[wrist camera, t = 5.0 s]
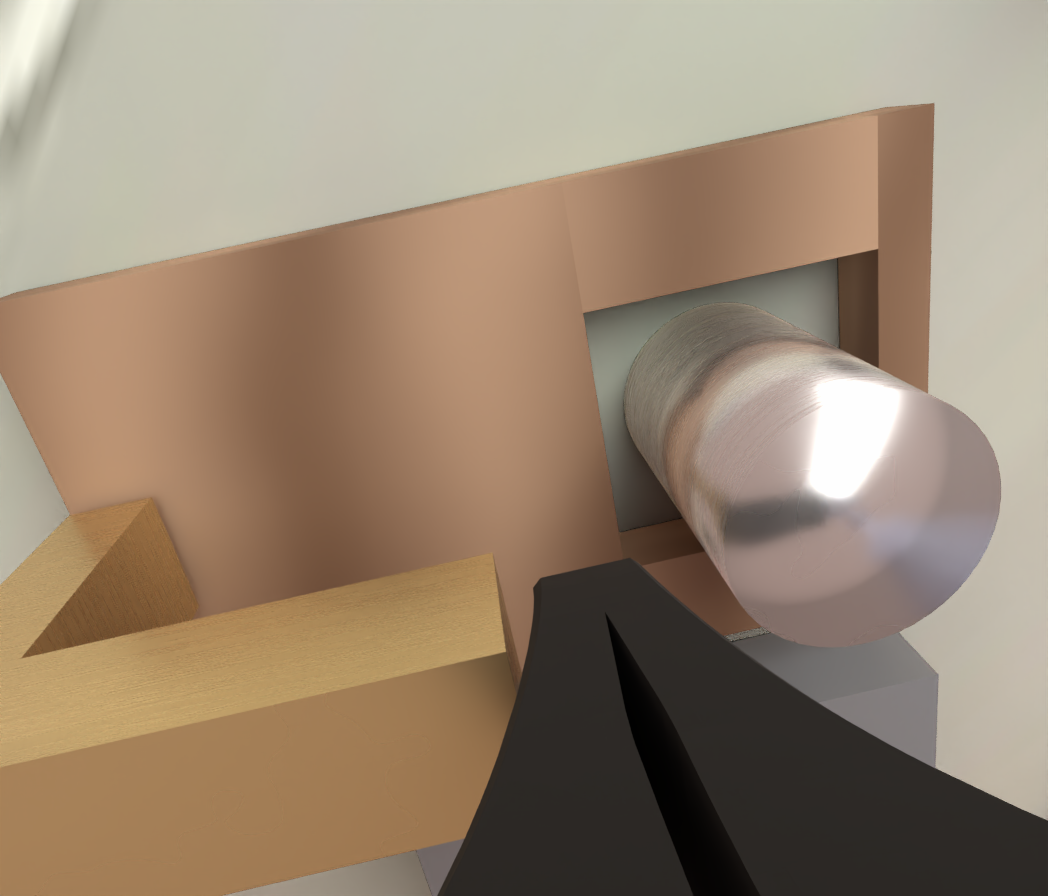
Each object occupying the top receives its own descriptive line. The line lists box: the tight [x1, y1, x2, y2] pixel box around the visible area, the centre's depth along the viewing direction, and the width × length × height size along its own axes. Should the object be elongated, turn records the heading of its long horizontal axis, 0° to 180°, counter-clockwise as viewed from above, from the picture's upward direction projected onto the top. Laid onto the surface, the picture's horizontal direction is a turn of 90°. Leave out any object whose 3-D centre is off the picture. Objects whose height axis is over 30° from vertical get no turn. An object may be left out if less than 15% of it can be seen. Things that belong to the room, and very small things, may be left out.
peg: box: [624, 302, 1001, 647], centre depth 13 cm, size 4×4×6 cm
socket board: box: [0, 103, 934, 672], centre depth 15 cm, size 16×10×2 cm, turn 101°
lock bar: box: [0, 497, 522, 896], centre depth 11 cm, size 8×2×7 cm, turn 101°
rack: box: [416, 632, 938, 896], centre depth 19 cm, size 12×9×2 cm
